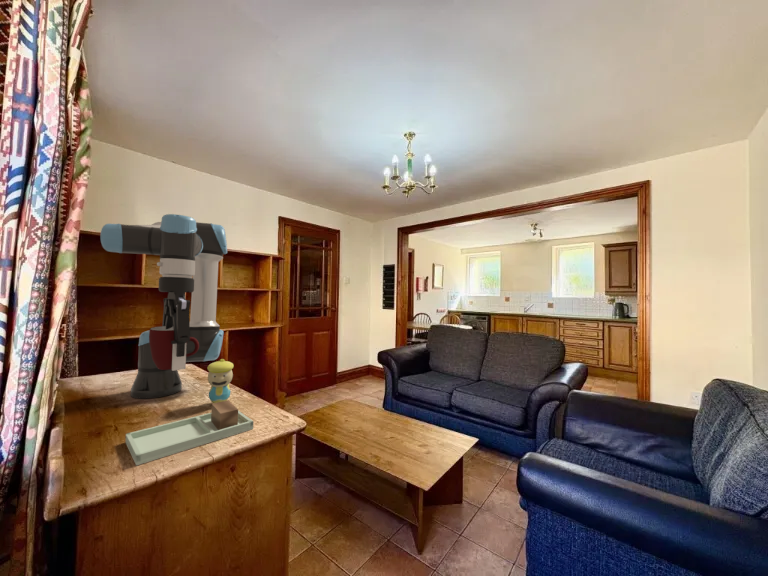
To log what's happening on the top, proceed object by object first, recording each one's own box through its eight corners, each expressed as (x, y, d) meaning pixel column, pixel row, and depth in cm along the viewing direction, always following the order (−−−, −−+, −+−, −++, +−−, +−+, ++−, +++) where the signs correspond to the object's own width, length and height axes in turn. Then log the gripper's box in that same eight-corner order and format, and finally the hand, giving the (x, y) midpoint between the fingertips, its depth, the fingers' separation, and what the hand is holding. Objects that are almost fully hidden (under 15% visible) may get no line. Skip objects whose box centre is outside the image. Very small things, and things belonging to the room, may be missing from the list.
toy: (204, 410, 98) (205, 363, 98) (207, 400, 107) (209, 357, 107) (231, 407, 102) (233, 361, 102) (232, 398, 110) (234, 356, 110)
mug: (194, 361, 85) (196, 324, 85) (200, 368, 79) (202, 328, 79) (146, 366, 78) (148, 326, 78) (148, 374, 72) (150, 331, 72)
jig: (125, 442, 77) (125, 433, 77) (233, 414, 96) (233, 407, 96) (136, 465, 68) (136, 455, 68) (253, 428, 87) (253, 421, 87)
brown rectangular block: (219, 432, 83) (220, 413, 83) (211, 420, 89) (211, 403, 89) (237, 427, 86) (238, 409, 86) (227, 416, 92) (228, 400, 92)
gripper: (150, 276, 83) (146, 360, 83) (170, 275, 69) (166, 377, 69) (182, 277, 88) (179, 357, 88) (207, 277, 74) (204, 371, 74)
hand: (173, 366), depth 78 cm, fingers closed on mug, 8 cm apart
